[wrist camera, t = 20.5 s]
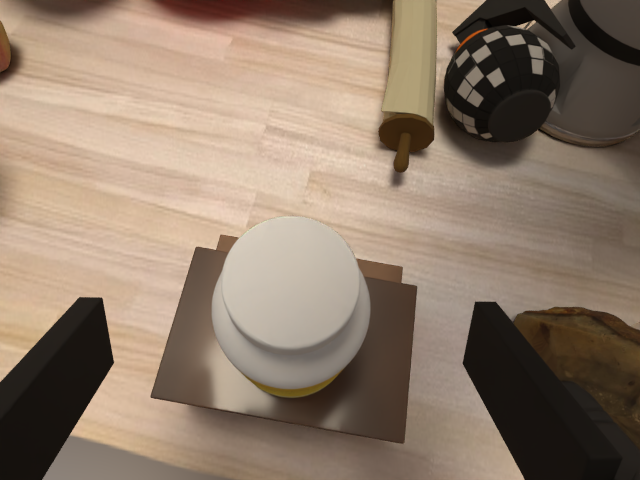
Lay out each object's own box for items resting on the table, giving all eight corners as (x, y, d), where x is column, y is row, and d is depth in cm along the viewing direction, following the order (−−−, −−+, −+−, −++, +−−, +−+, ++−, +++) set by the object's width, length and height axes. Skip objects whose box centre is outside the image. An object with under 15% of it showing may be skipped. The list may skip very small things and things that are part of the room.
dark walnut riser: (391, 282, 36) (421, 241, 28) (375, 437, 31) (404, 444, 23) (227, 252, 36) (208, 203, 28) (187, 403, 32) (149, 397, 23)
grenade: (622, 94, 35) (544, 10, 44) (575, 19, 29) (497, -59, 39) (498, 177, 41) (452, 88, 50) (440, 128, 36) (401, 38, 45)
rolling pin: (424, 189, 39) (441, 159, 35) (364, 181, 39) (373, 150, 35) (434, -42, 52) (447, -87, 47) (388, -49, 52) (397, -94, 47)
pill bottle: (339, 408, 24) (377, 399, 13) (223, 387, 24) (166, 362, 13) (354, 295, 26) (397, 209, 15) (250, 276, 26) (220, 178, 16)
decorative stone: (683, 312, 26) (640, 305, 25) (683, 479, 24) (637, 478, 23) (543, 306, 36) (508, 300, 35) (537, 424, 34) (501, 422, 33)
